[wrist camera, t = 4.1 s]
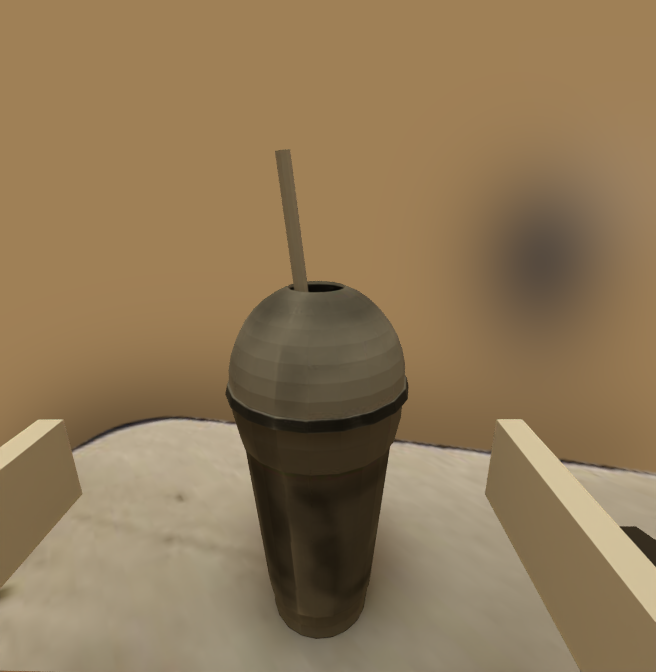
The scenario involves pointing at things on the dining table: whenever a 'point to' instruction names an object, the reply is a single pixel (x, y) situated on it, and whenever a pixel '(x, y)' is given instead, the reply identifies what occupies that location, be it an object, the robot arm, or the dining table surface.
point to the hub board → (18, 671)
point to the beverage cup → (316, 433)
